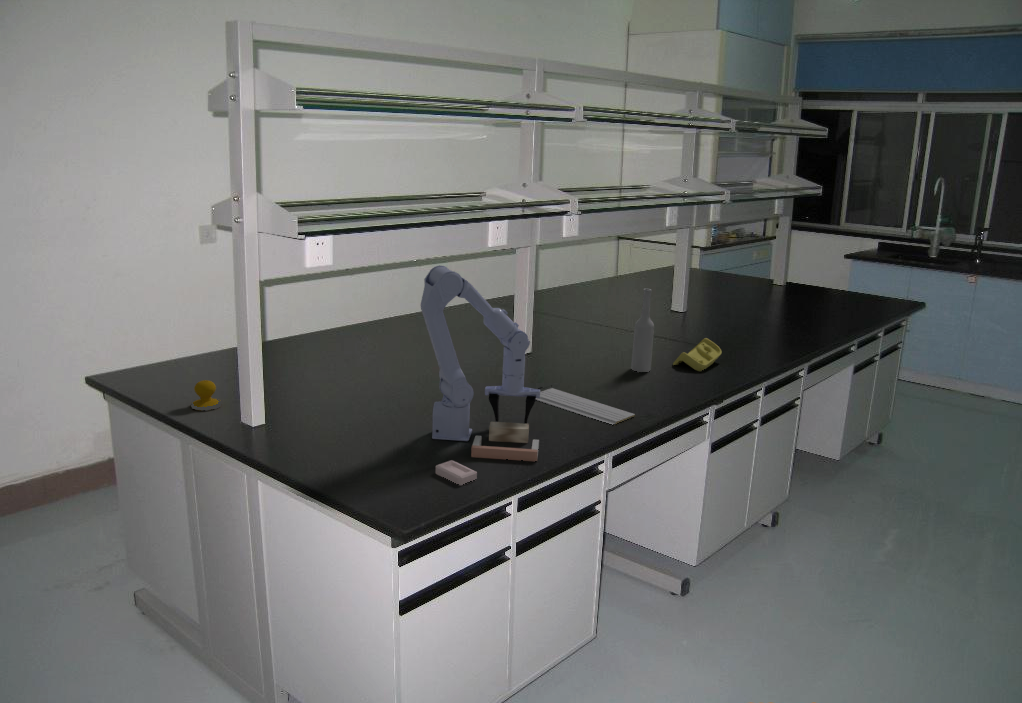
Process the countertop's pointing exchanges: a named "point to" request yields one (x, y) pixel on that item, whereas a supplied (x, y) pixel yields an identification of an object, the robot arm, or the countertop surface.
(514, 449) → the block with end panels
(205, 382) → the doorknob
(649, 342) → the bottle
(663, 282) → the countertop surface
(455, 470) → the soap bar
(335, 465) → the countertop surface
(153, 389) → the countertop surface
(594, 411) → the baseboard molding
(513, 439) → the slat block
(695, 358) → the plastic component
